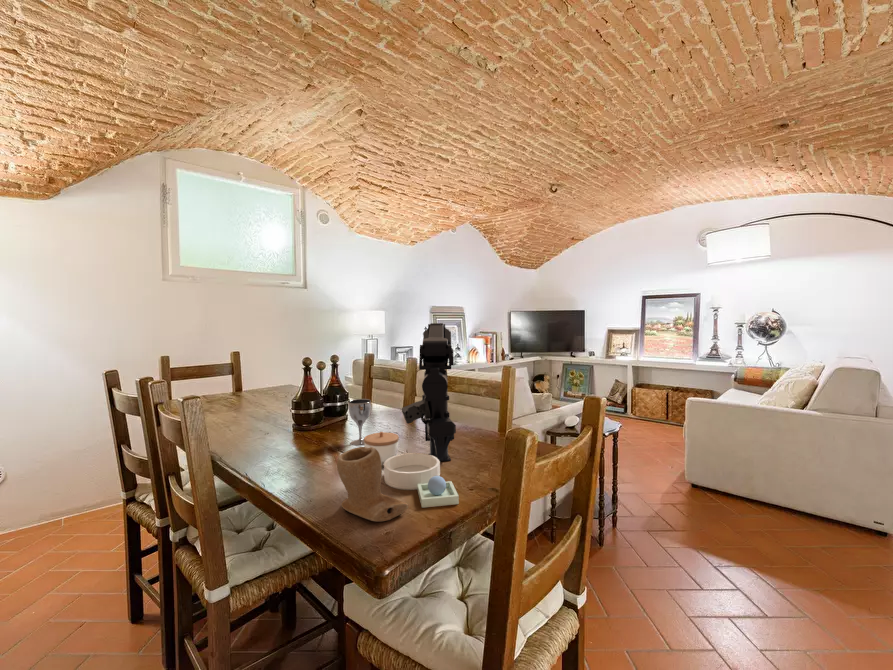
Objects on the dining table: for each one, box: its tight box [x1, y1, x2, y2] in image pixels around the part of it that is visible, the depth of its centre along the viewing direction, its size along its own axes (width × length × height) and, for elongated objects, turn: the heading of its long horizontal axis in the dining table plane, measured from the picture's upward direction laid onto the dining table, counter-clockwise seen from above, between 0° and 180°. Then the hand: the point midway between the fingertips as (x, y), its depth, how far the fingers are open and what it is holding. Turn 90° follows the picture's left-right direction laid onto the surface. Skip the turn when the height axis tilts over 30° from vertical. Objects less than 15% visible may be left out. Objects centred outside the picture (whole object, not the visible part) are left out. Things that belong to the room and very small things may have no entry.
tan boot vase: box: [336, 446, 409, 522], centre depth 96 cm, size 15×12×15 cm
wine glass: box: [347, 398, 372, 447], centre depth 149 cm, size 8×8×15 cm
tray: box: [417, 480, 460, 509], centre depth 104 cm, size 9×9×2 cm
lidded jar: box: [363, 431, 400, 466], centre depth 129 cm, size 11×11×9 cm
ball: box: [428, 476, 447, 495], centre depth 104 cm, size 5×5×5 cm
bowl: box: [383, 452, 441, 491], centre depth 116 cm, size 15×15×4 cm
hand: (436, 452), depth 103 cm, fingers open, 9 cm apart
